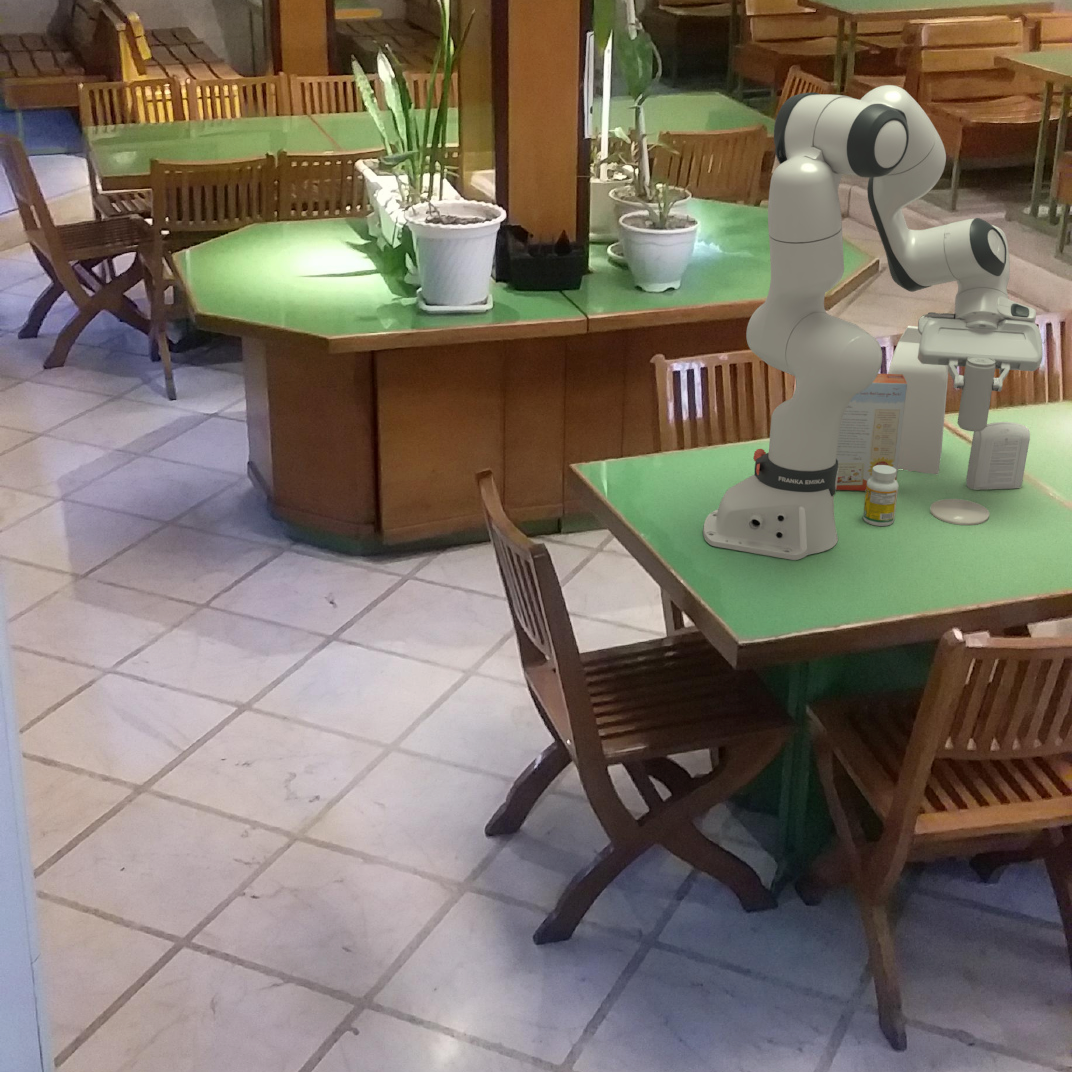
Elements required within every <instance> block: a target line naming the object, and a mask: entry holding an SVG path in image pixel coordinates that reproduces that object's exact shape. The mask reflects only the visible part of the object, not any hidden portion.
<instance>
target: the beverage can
mask: <svg viewBox="0 0 1072 1072" xmlns="http://www.w3.org/2000/svg"><path fill="white" fill-rule="evenodd" d="M995 366H996V365H995V360H994V359H992V358H989V359H986V358H972V357H969V358H968V359H967V362H966V366H965V367H964V375H963V376H964V385H963V389H961V394H960V395H961V396H960V402H959V408H958V417H957V424H958V427H959V428H960V429H961V430H963V431H968V432H973V433H974V432H976V431H982V430H983V429H985V428H986V426H987V424H988V419H989V413H990V404H991V399H992V392H993V391H992V386H993V380H994V378H995V372H996V369H995Z"/></svg>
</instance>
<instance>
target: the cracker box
mask: <svg viewBox="0 0 1072 1072" xmlns="http://www.w3.org/2000/svg"><path fill="white" fill-rule="evenodd" d="M906 391H907V382H906V380H905V378H904V376H903V374H888V373H878V375H877V377H876V378H875V380H874V381H873V382H872V384H871V385H870V386H868V387H867V388H866V389H865V390H863V391H861V392H859V393H857V394H856V395H855V396H854V397H853V398H852V399H851V401H850V402H849V404H848V405H847V407H846V409H845V412H844V414H843V417H842V421H841V426H840V432H839V439H838V447H837V455H836V459H837V460H838V468H839V469H838V480H837V488H836V491H856V492H857V491H862V492H866V486H867V481H868V480H869V479H870V478H871V477H873V476H872V469H873V467H874V466H876V465H887V466H891V467H894V468H895V469H896V477H895V480H896V481H897V478H898V471H899V470H898V462H899V454H900V445H901V436H902V427H903V418H904V409H905V399H906Z"/></svg>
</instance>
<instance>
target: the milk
mask: <svg viewBox="0 0 1072 1072" xmlns="http://www.w3.org/2000/svg"><path fill="white" fill-rule="evenodd" d="M902 333H903V334H902V335H901V336H900V337H899V340H898V342H897V343H896V347H895V349H894V351H893V353H892V357H891V362H890V365H889V369H888V372H887V374H903V376H904V378H905V380H906V382H907V391H906V399H905V409H904V418H903V427H902V436H901V445H900V454H899V462H898V469H903V470H908V471H907V472H912V471H917V472H916V473H920V472H922V474H929V473H930V475H939V474H940V473H939V472H940V466H941V460H940V459H941V458H942V451H943V438H944V437H943V436H944V426H945V417H946V406H947V405H946V403H947V391H948V390H947V389H948V382H949V381H948V380H949V372H948V366H947V365H933V364H922V363H921V362H920V361H919V360H918V349H919V344H920V339H921V334H920V333H919V332H918V326H913V325H907V327H906V328H905V330H904V331H903V332H902ZM903 470H902V471H903Z"/></svg>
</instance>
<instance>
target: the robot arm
mask: <svg viewBox="0 0 1072 1072" xmlns="http://www.w3.org/2000/svg"><path fill="white" fill-rule="evenodd" d="M774 120H775V121H774V125H773V126H774V127H773V141H774V142H773V144H774V146H775V148H774V151H775V156H776V158H777V159H776V160H777V161H778V163H779V165H778V166H777V167H775V169H774V170H773V172H772V174H771V178H770V184H769V192H768V205H767V224H768V239H769V241H768V243H769V256H770V257H769V258H770V283H769V288H768V293H767V297H766V298H765V301H764V302H763V303H762V304H761V305H759V306H758V307H757V309H755V310H754V312H753V313H752V315H751V317H750V318H749V320H748V323H747V327H746V334H745V336H746V342H747V346H748V348H749V349H750V351H751V352H752V353H753V354H755V355H756V356H757V357H758V358H760V359H761V360H762V361H763V362H764V363H766V364H767V365H768V366H770V367H771V368H775V369H777V370H779V371H781V372H784V373H787V374H789V375H791V376H792V377H794V378H795V382H796V384H795V389H794V392H793V395H792V397H791V398H789V399H787V400H785V401H784V402H782V403H780V404H779V405H777V407H775V409H774V410H773V411H772V414H771V418H770V419H771V420H770V428H769V429H770V430H769V431H770V433H769V444H768V452H767V453H766V451H765V449H763V448H757V449H756V450H755V451H754V453H753V461H754V462H755V464H754V474H752V475H750V476H749V477H747V478H745V479H744V480H741V481H740V482H738V483H736V484H733V486H731V487H729V488H728V489H727V490H726V491H725V493H723V496H722V498H721V500H720V502H719V505H718V509H716V510H713V511H712V512H710V513H709V514H708V515H707V516H706V518H705V520H704V522H703V523H704V524H703V529H702V536H703V538H704V540H705V541H706V542H707V543H708V544H709V545H710V546H713V547H716V548H723V549H728V550H734V551H738V552H739V551H740V552H746V553H751V554H757V555H761V556H767V557H774V558H780V559H784V560H790V561H796V560H801V559H803V558H805V557H807V556H809V555H813V554H818V553H821V552H826V551H828V550H831V549H832V548H833V547H835V546H836V545H837V543H838V541H839V537H838V531H837V528H836V526H837V525H836V519H835V505H834V503H835V502H834V500H835V494H836V491H837V490H836V488H837V480H838V469H839V468H838V460H837V459H836V455H837V447H838V439H839V432H840V426H841V421H842V417H843V414H844V412H845V409H846V407H847V405H848V404H849V402H850V401H851V399H852V398H853V397H854V396H855V395H856V394H857V393H859V392H861V391H863V390H865V389H866V388H867V387H868V386H870V385H871V384H872V382H873V381H874V380H875V378H876V377H877V375H878V374H880V371H881V366H882V362H883V352H882V347H881V344H880V343H879V340H877V339H876V338H875V337H874V336H873V335H871V334H870V333H869V332H868V331H867V330H864V328H862V327H860V326H859V325H858V324H856V323H853V322H850V321H848V320H845V319H841V318H839V317H837V316H834V315H831V314H829V313H828V312H827V310H826V308H825V296H826V293H827V292H828V291H830V290H832V289H834V287H835V286H836V285H838V284H839V282H841V279H842V278H843V275H844V272H845V264H844V263H845V262H844V260H845V259H844V243H843V242H844V240H843V239H844V238H843V221H842V220H843V219H842V211H841V203H840V197H839V188H840V187H839V186H840V183H841V180H842V178H843V175H847V176H848V175H849V176H858V177H861V178H867V179H868V181H867V194H866V195H867V201H868V205H869V209H870V212H871V215H872V219H873V221H874V224H875V227H876V229H877V233H878V235H879V238H880V240H881V243H882V246H883V248H884V252H885V255H886V260H887V265H888V269H889V273H890V276H891V278H892V280H893V282H894V283H895V284H897V285H898V287H900V288H903V289H904V290H906V291H908V292H912V293H913V292H916V291H919V290H920V291H921V290H923V289H927V288H931V287H932V286H937V285H942V284H946V283H951V282H956V284H957V291H956V295H955V300H954V313H951V312H950V313H948V312H945V313H944V312H943V313H937V312H927V314H923V315H922V316H920V317H919V319H918V321H917V327H918V332H919V333H920V334H921V339H920V344H919V349H918V360H919V361H920V362H921V363H922V364H933V365H947V366H948V375H950V376H951V379H953V389H960V390H962V389H963V385H964V375H961V374H959V372H958V370H957V368H958V367H962V368H963V367H964V368H965V366H966V362H967V359H968V358H969V357H972V358H986V359H989V358H992V359H994V360H995V365H996V366H995V370H999V373H998V374H999V376H998V377H994V380H993V386H992V392H1001V391H1002V389H1003V382H1004V380H1005V379H1006V378H1007V376H1008V375H1009V373H1010V370H1011V371H1020V372H1021V371H1026V372H1034V371H1036V370H1037V369H1038V368H1039V367H1040V366H1041V364H1042V361H1043V339H1042V334H1041V331H1040V328H1039V326H1038V325H1037V324H1036V318H1037V311H1036V309H1035V308H1033V307H1031V306H1027V305H1025V304H1022V303H1019V302H1017V301H1013V300H1012V299H1009V294H1008V290H1007V289H1008V284H1009V281H1010V275H1011V273H1010V271H1011V266H1010V265H1011V264H1010V263H1011V262H1010V250H1009V244H1008V239H1007V235H1006V233H1005V232H1004V231H1003V229H1001V228H1000V227H998V226H996V225H993V224H990V223H989V222H988V221H986V220H984V219H982V218H980V217H976V218H968V219H963V220H959V221H954V222H950V223H948V224H944V225H943V224H942V225H939V226H934V227H929V228H926V229H911V228H908V227H909V226H908V225H907V222H906V219H905V215H904V212H903V209H904V208H906V207H907V206H909V204H911V203H914V202H915V201H917V200H919V199H921V198H923V197H924V196H925V195H927V194H928V193H929V192H930V191H931V190H933V188H934V187H935V186H936V185H937V183H938V182H939V180H941V179H940V178H941V177H942V175H943V173H944V171H945V166H946V160H947V155H946V154H947V153H946V149H945V146H944V143H943V140H942V139H941V135H939V132H938V131H937V129H936V127H935V125H934V123H933V122H932V121H931V119H930V117H929V115H927V113H926V112H925V110H924V109H923V108H922V107H921V106H920V104H919V102H917V100H916V99H914V98H913V97H912V96H911V94H909V92H908V91H907V90H905V89H904V88H902V87H900V86H897V85H893V84H886V85H881V86H877V87H875V88H873V89H871V90H869V91H868V92H867V93H865V94H864V96H862V97H861V98H860V99H859V98H858V99H857V98H853V97H852V96H848V95H841V94H831V93H830V94H821V93H818V92H804V93H798V94H795V95H793V96H790V97H789V98H788V99H786V100H785V101H784V103H783V104H782V105H781V107H780V108H779V111H778V112H777V114H776V118H775V119H774Z"/></svg>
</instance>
